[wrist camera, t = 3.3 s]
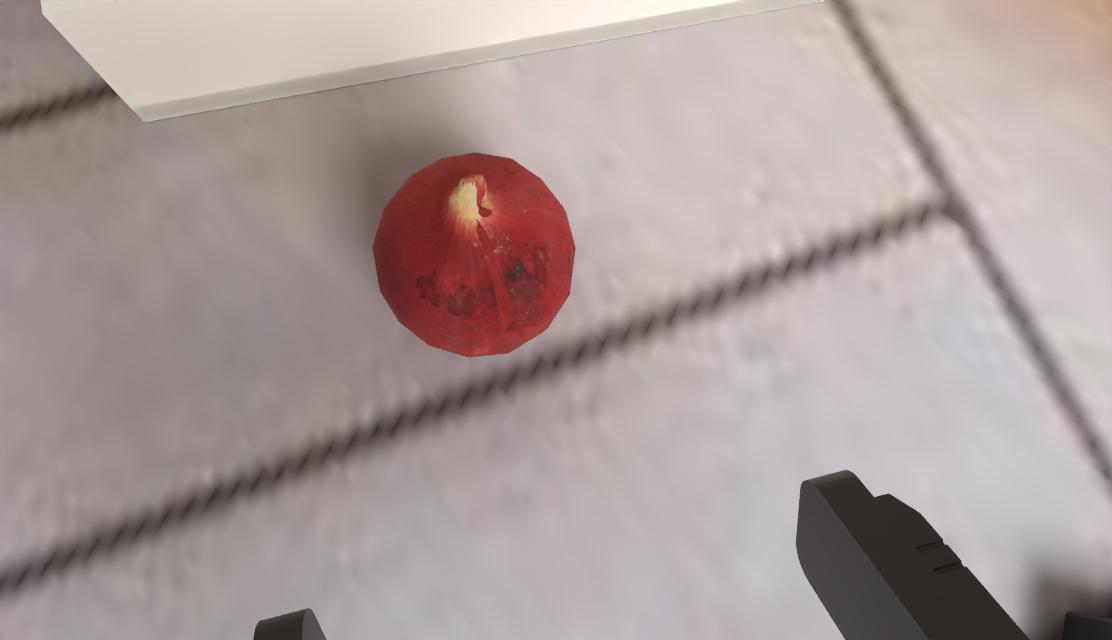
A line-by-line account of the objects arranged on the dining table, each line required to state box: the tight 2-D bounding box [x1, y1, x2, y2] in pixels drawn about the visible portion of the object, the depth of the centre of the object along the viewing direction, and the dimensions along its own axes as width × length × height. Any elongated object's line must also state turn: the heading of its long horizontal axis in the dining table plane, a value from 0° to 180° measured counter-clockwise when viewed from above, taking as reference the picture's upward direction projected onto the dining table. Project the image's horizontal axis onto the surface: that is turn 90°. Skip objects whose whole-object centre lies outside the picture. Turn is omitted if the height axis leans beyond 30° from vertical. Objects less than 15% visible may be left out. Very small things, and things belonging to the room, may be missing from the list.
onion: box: [373, 153, 575, 357], centre depth 22 cm, size 6×6×8 cm
